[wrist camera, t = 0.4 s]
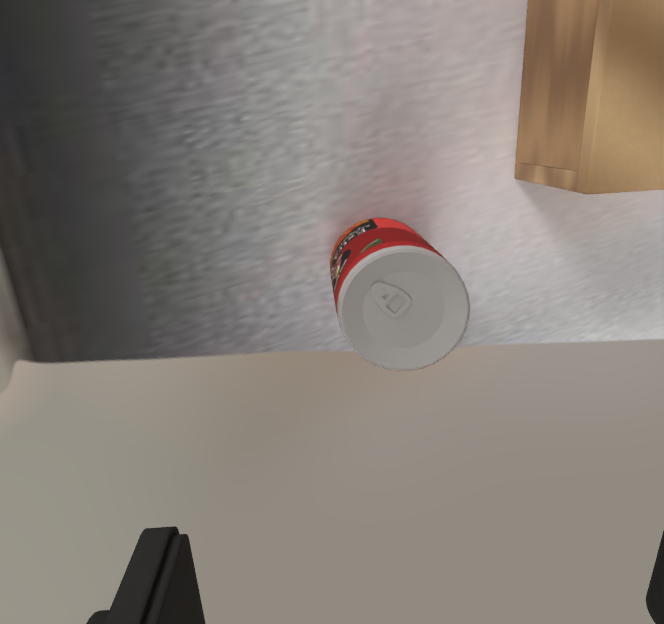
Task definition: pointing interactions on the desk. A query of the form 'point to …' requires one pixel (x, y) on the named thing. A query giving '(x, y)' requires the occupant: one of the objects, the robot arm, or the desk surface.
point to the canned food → (396, 296)
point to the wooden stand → (593, 96)
